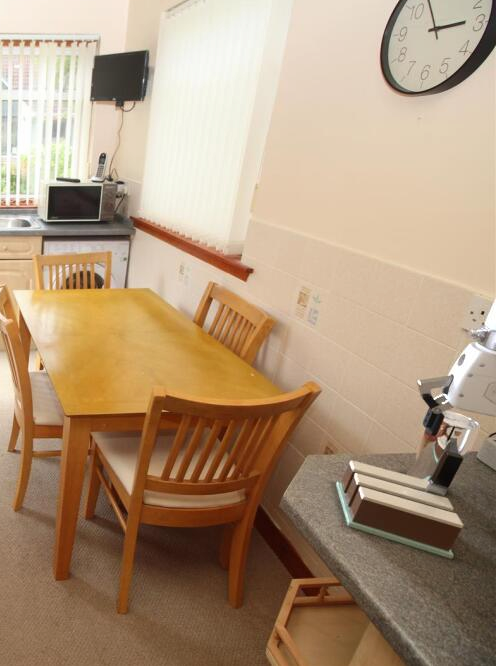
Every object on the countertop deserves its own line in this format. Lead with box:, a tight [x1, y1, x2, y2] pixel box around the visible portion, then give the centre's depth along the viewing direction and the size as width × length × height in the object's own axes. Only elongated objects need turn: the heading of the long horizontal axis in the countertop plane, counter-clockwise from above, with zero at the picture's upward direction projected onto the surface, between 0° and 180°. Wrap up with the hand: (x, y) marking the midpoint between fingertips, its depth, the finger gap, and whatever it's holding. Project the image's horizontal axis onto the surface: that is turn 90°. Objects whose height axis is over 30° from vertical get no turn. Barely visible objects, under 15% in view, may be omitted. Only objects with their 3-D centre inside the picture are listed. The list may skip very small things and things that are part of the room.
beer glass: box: [404, 410, 482, 481], centre depth 90 cm, size 7×7×15 cm
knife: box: [424, 451, 465, 497], centre depth 81 cm, size 2×1×14 cm, turn 64°
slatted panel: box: [335, 459, 464, 560], centre depth 83 cm, size 14×12×6 cm
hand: (467, 439), depth 77 cm, fingers open, 9 cm apart
